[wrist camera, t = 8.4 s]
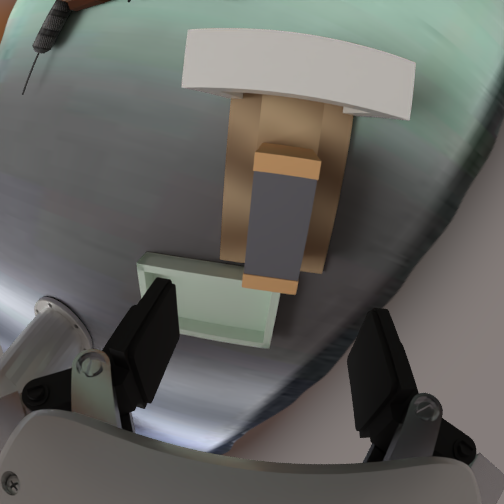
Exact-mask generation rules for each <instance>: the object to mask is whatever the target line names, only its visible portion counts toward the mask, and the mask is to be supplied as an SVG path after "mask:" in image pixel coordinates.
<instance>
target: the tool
mask: <svg viewBox="0 0 504 504" xmlns="http://www.w3.org/2000/svg"><path fill="white" fill-rule="evenodd" d="M108 1H111V0H56V2H55V3H54V5H53V7H52V8H51V10H50V12H49V14H48V16H47V17H46V19H45V21H44V23H43V25H42V27H41V29H40V31H39V33H38V35H37V37H36V39H35V41H34V43H33V48H34V51H35V52H37V53H38V54H37V56H36V59H35V61H34V63H33V66H32V68H31V71H30V73H29V76H28V79H27V81H26V84H25V87H24V90H23V93H22V95H23V94H24V91H25V88H26V85H27V83H28V80H29V77H30V75H31V72H32V70H33V67H34V65H35V62H36V60H37V58H38V55H39V53H45V52H47V51H49V50H51V48H52V46H53V44H54V42H55V40H56V38H57V36H58V34H59V32H60V30H61V29H62V27H63V25H64V23H65V21H66V20H67V18H68V16H69V14H70V13H71V11H72V10H73V11H79V10H82V9H85V8H88V7H92V6H95V5H99V4H102V3H105V2H108ZM130 1H131V0H128V2H130Z"/></svg>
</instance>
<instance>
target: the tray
mask: <svg viewBox="0 0 504 504" xmlns="http://www.w3.org/2000/svg"><path fill="white" fill-rule="evenodd" d="M136 264H137V272H138V279H139V286H140V292H141V298H142V297H143V296H144V294H145V293H146V291H147V290H148V288H149V287H150V286H151V284H152V283H153V281H154V280H155V279H156V278H157V277H160V278H165V279H170V280H171V281H172V284H175V285H176V296H177V309H178V320H179V331H180V334H184V335H189V336H194V337H199V338H204V339H209V340H215V341H220V342H226V343H232V344H238V345H245V346H251V347H258V348H265V349H269V348H270V343H271V338H272V333H273V328H274V323H275V318H276V313H277V308H278V303H279V298H280V293H277V292H270V291H263V290H256V289H249V288H243V287H242V279H243V272H244V266H237V265H230V264H223V263H217V262H210V261H203V260H197V259H190V258H184V257H177V256H171V255H164V254H158V253H152V252H146V253H145V254H144V255H143V256H142V258H141V259H140V260H139V261H138V262H137V263H136Z"/></svg>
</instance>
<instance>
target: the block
mask: <svg viewBox="0 0 504 504" xmlns="http://www.w3.org/2000/svg"><path fill="white" fill-rule="evenodd" d="M320 167H321V160H320V159H319V158H318V156H317V155H316V153H315V152H314V151H313V150H312V149H306V148H300V147H293V146H286V145H278V144H271V143H262V144H261V145H260V147H259V148H258V149H257V150H256V151H255V156H254V166H253V171H254V175H253V185H252V195H251V205H250V215H249V225H248V235H247V245H246V256H245V266H244V272H243V279H242V287H243V288H249V289H256V290H263V291H270V292H277V293H285V294H292V295H296V291H297V286H298V278H299V273H300V268H301V264H302V259H303V254H304V249H305V244H306V239H307V234H308V229H309V224H310V218H311V213H312V208H313V202H314V196H315V191H316V185H317V180H318V179H319V173H320Z"/></svg>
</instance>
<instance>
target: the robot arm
mask: <svg viewBox="0 0 504 504" xmlns="http://www.w3.org/2000/svg"><path fill="white" fill-rule="evenodd" d="M34 310H35V316H36V317H35V318H34V319H33V320H32V321H31V322H30V323H29V324H28V326H27V327H26V328H25V329H24V330H23V331H22V332H21V334H20V335H19V336H18V337H17V338H16V340H15V341H14V342H13V343H12V344H11V346H10V347H9V348H8V349H7V350H6V352H5V353H4V354H3V355H2V357H1V358H0V504H496V503H497V501H498V499H499V498H500V496H501V494H502V492H503V490H504V474H503V473H502V472H501V471H500V470H499V469H497V467H495V466H494V465H493V464H492V463H491V462H490V461H489V460H488V459H486V458H485V457H484V456H483V455H482V454H481V453H478V454H476V446H475V443H474V441H473V440H472V439H471V438H470V437H469V436H467V435H465V434H464V433H463V432H462V431H460V430H459V429H457V428H456V427H454V426H453V425H451V424H450V423H449V422H447V421H446V420H444V419H443V418H442V415H443V409H442V406H441V404H440V402H439V400H438V399H437V398H436V397H434V396H433V395H431V394H428V393H420V394H419V393H418V390H417V387H416V383H415V380H414V377H413V374H412V371H411V367H410V364H409V361H408V359H407V356H406V353H405V350H404V347H403V345H402V343H401V342H400V339H399V337H398V334H397V331H396V329H395V326H394V323H393V321H392V318H391V316H390V313H389V311H388V310H387V309H381V308H374V309H373V310H372V311H369V312H368V313H367V316H366V318H365V320H364V323H363V325H362V327H361V329H360V332H359V334H358V336H357V338H356V341H355V343H354V345H353V347H352V349H351V351H350V353H349V356H348V359H347V365H348V372H349V379H350V385H351V394H352V401H353V408H354V409H353V410H354V418H355V427H356V430H357V431H359V432H360V438H366V437H370V439H371V442H372V445H371V447H370V449H369V451H368V453H367V455H366V457H365V459H364V461H363V463H356V464H291V463H276V462H265V461H256V460H247V459H240V458H233V457H228V456H222V455H217V454H211V453H206V452H202V451H197V450H192V449H188V448H184V447H180V446H176V445H172V444H169V443H165V442H162V441H158V440H155V439H152V438H148V437H145V436H142V435H139V434H136V433H135V428H134V424H133V418H132V413H131V412H132V411H135V409H136V406H137V407H140V408H143V409H145V407H146V405H147V403H151V402H152V401H153V399H154V396H155V394H156V391H157V389H158V387H159V384H160V382H161V379H162V377H163V375H164V372H165V370H166V368H167V365H168V363H169V361H170V358H171V356H172V354H173V351H174V349H175V347H176V344H177V342H178V340H179V335H180V331H179V320H178V309H177V296H176V285H175V284H172V281H171V280H170V279H165V278H160V277H157V278H156V279H155V280H154V281H153V283H152V284H151V286H150V287H149V288H148V290H147V291H146V293H145V294H144V296H143V297H142V299H141V300H140V301H139V303H138V304H137V305H134V306H132V307H131V308H130V309H129V311H128V312H127V314H126V315H125V317H124V318H123V320H122V321H121V323H120V324H119V326H118V327H117V329H116V330H115V332H114V333H113V335H112V336H111V338H110V339H109V341H108V342H107V344H106V345H105V347H104V348H103V350H102V351H101V350H98V349H92V348H93V344H92V340H91V337H90V334H89V333H88V331H87V329H86V327H85V326H84V324H83V323H82V322H81V321H80V319H79V318H78V317H77V316H76V315H75V314H74V313H73V312H72V311H71V310H70V309H69V308H68V307H66V306H65V305H64V304H62V303H61V302H59V301H57V300H55V299H53V298H50V297H42V298H40V299H39V300H38V301H37V302H36V304H35V308H34Z"/></svg>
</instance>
